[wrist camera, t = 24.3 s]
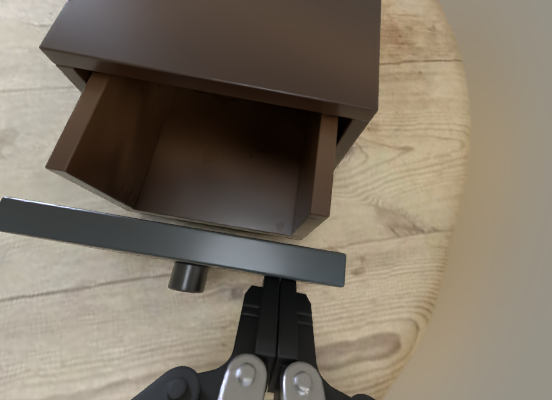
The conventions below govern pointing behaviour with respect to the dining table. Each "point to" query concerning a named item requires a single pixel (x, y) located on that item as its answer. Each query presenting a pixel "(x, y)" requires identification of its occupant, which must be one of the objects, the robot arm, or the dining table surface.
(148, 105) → the drawer
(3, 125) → the dining table surface
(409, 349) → the dining table surface
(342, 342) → the dining table surface
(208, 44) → the cabinet
